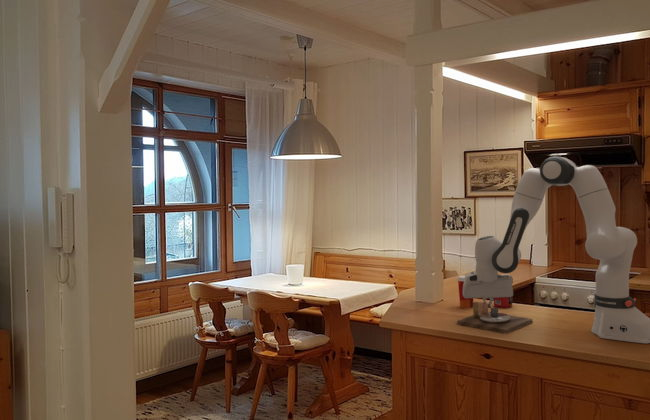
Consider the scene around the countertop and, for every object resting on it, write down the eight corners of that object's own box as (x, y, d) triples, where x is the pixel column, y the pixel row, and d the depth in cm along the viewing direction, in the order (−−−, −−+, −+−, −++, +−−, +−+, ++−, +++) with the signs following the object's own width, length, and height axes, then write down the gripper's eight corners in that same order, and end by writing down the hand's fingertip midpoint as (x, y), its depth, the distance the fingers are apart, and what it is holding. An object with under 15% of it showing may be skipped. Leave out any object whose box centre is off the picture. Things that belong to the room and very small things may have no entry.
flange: (516, 319, 232) (516, 307, 231) (494, 324, 226) (494, 311, 226) (489, 312, 245) (489, 300, 245) (467, 316, 239) (467, 304, 239)
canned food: (513, 308, 257) (512, 284, 256) (494, 308, 258) (494, 284, 258) (511, 304, 264) (510, 280, 264) (493, 304, 266) (492, 280, 265)
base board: (532, 322, 233) (532, 303, 232) (506, 333, 220) (505, 313, 219) (484, 314, 249) (483, 295, 249) (457, 324, 236) (456, 304, 235)
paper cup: (469, 304, 268) (468, 274, 267) (478, 308, 260) (477, 277, 259) (454, 306, 265) (453, 276, 264) (463, 310, 258) (462, 279, 257)
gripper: (511, 272, 242) (512, 305, 243) (461, 274, 245) (462, 306, 246) (514, 275, 236) (515, 309, 237) (462, 277, 239) (464, 310, 240)
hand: (488, 308), depth 241 cm, fingers closed
